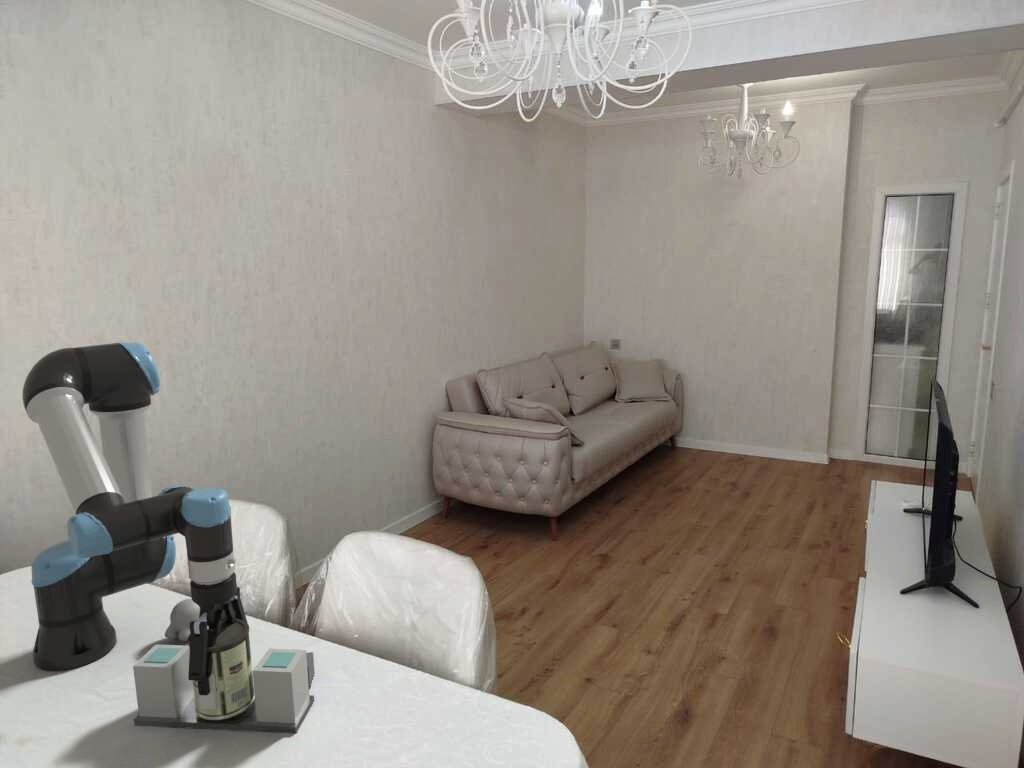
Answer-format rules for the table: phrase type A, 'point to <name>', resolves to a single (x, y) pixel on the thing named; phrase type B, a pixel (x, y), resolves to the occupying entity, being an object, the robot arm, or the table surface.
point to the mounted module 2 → (281, 685)
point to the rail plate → (224, 720)
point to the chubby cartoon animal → (182, 619)
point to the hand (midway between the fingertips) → (223, 688)
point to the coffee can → (229, 672)
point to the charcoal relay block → (310, 667)
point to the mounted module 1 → (163, 681)
